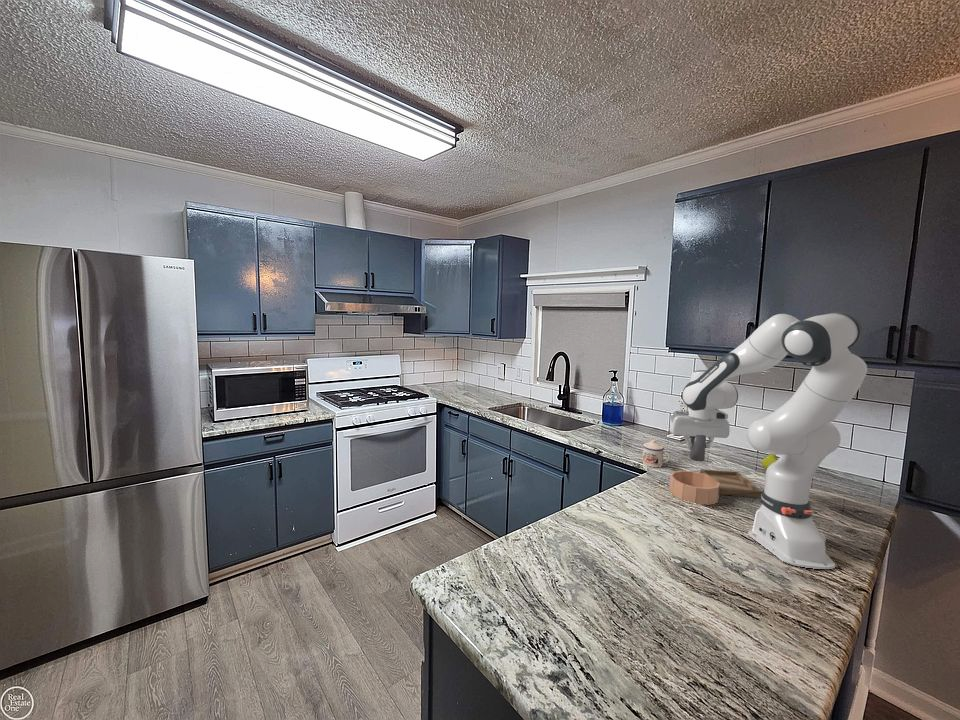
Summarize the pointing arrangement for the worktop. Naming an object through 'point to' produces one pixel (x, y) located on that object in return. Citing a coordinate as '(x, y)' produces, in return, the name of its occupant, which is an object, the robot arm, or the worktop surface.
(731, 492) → the walnut tray
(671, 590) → the worktop surface
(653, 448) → the teacup with lid
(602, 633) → the worktop surface
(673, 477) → the terracotta bowl
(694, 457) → the black canister
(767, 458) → the fruit
